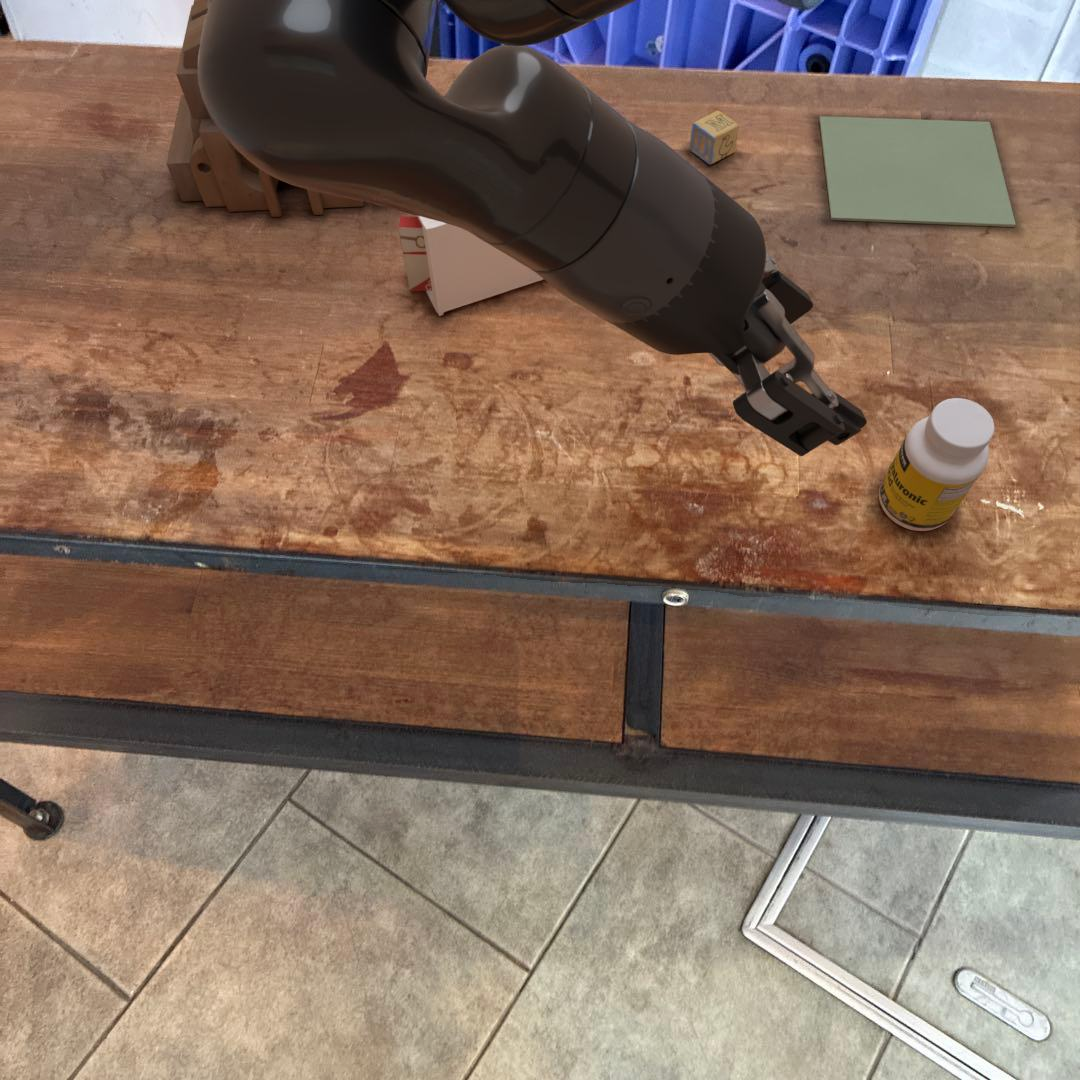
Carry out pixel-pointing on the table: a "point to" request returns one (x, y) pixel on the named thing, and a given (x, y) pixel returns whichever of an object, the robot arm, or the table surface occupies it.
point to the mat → (914, 172)
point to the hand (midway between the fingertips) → (822, 368)
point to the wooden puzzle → (219, 148)
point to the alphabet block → (714, 137)
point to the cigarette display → (456, 264)
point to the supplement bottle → (937, 465)
